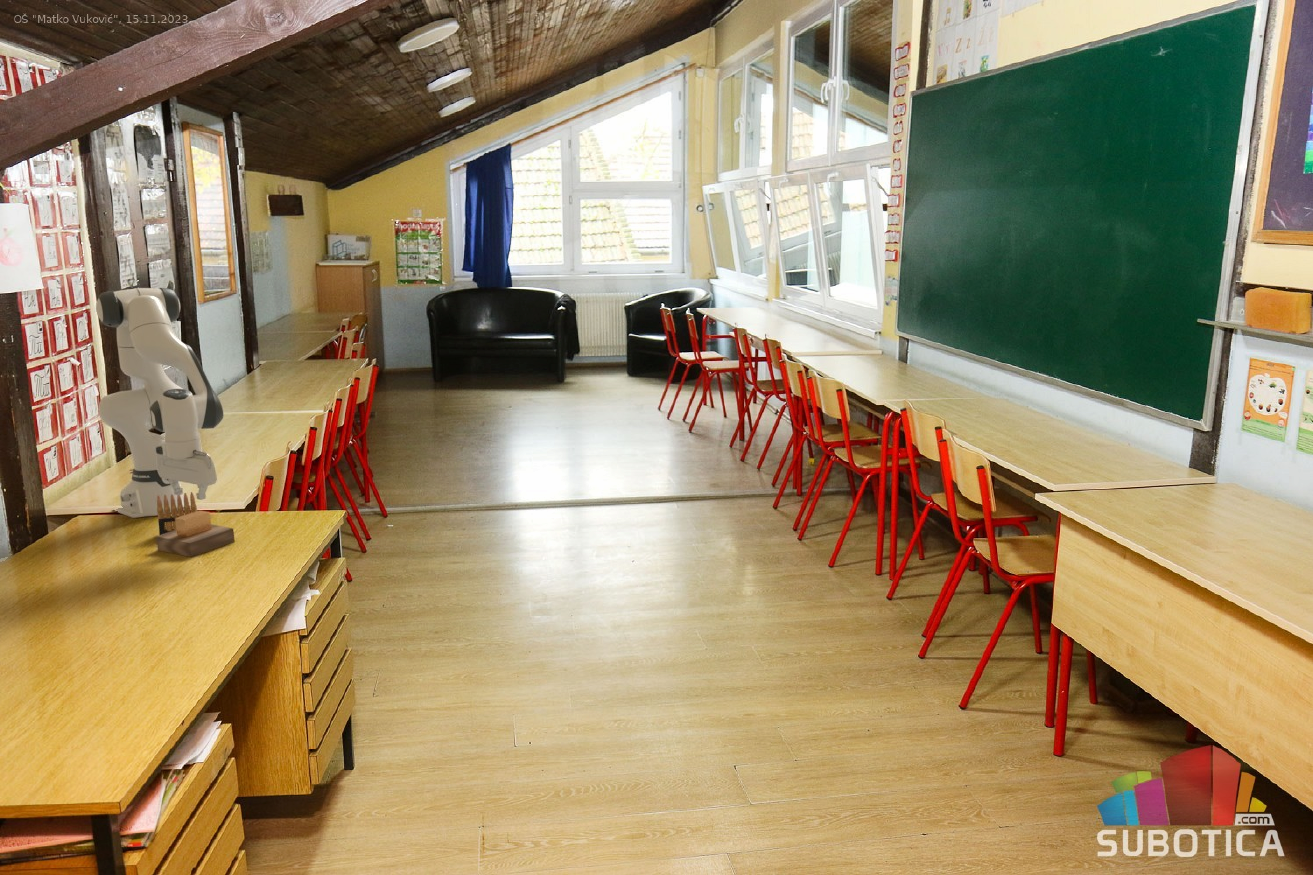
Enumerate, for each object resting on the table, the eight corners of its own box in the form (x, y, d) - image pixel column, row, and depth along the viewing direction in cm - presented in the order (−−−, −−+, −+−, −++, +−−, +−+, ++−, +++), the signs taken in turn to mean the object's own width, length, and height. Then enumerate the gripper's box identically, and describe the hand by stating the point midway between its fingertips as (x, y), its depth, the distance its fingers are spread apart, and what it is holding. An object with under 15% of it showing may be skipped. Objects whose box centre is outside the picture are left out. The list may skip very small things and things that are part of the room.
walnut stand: (157, 549, 268) (155, 536, 267) (201, 535, 280) (199, 522, 279) (191, 557, 261) (189, 543, 261) (234, 541, 274) (233, 528, 273)
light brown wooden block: (177, 535, 267) (174, 518, 266) (202, 527, 274) (200, 510, 273) (186, 537, 265) (184, 520, 264) (211, 529, 272) (209, 512, 271)
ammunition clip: (200, 529, 285) (195, 490, 283) (199, 531, 283) (194, 492, 281) (160, 534, 282) (155, 494, 279) (159, 536, 280) (154, 496, 277)
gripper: (219, 450, 263) (225, 498, 266) (169, 442, 272) (176, 489, 275) (199, 455, 257) (205, 504, 260) (149, 447, 266) (155, 495, 270)
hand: (189, 496), depth 268 cm, fingers open, 8 cm apart
